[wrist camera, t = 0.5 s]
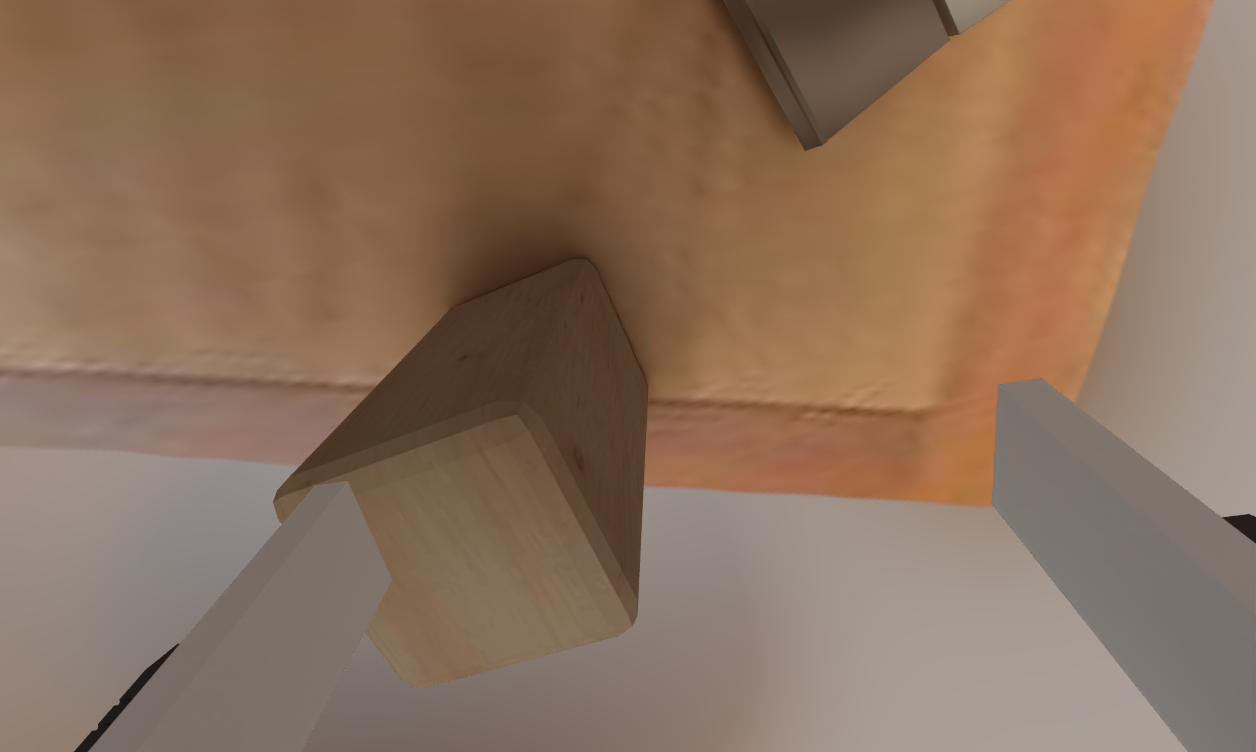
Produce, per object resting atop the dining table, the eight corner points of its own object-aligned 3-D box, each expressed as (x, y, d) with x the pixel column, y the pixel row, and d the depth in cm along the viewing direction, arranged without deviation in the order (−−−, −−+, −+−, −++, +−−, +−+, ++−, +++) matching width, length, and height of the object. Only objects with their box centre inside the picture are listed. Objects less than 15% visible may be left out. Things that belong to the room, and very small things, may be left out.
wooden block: (590, 248, 37) (520, 404, 19) (654, 392, 40) (647, 641, 22) (442, 308, 39) (247, 503, 21) (515, 440, 42) (404, 705, 24)
